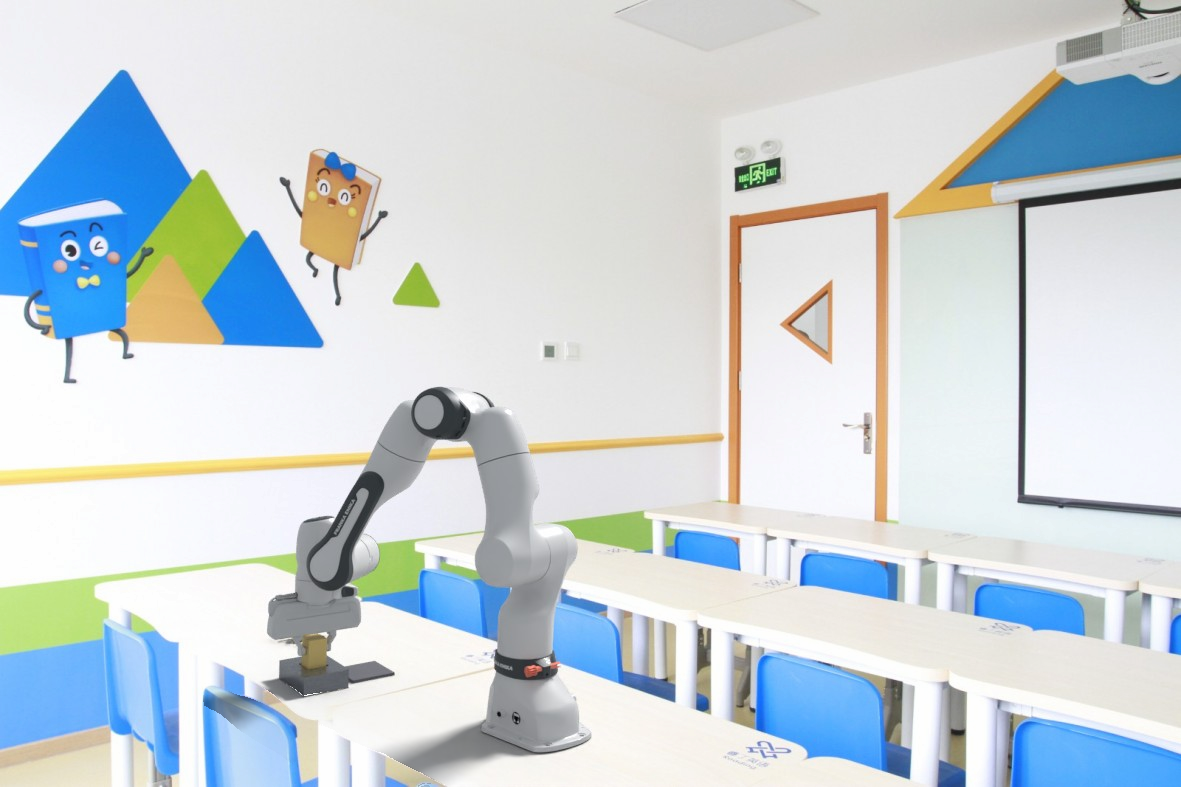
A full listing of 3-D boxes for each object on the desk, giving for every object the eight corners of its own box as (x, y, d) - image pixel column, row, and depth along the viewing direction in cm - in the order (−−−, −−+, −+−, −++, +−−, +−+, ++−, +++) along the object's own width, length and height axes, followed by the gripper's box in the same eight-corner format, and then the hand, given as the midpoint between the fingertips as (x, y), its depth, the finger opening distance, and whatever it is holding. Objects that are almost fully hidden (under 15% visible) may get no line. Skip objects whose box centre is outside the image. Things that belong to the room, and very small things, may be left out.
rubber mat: (394, 675, 204) (394, 672, 204) (353, 683, 198) (353, 680, 198) (374, 663, 212) (374, 660, 212) (334, 670, 206) (334, 668, 206)
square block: (325, 683, 197) (327, 638, 197) (308, 687, 195) (309, 641, 195) (318, 678, 200) (319, 634, 200) (300, 682, 198) (302, 636, 198)
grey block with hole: (348, 687, 195) (349, 669, 195) (303, 696, 189) (304, 677, 189) (322, 670, 206) (322, 652, 206) (278, 678, 200) (279, 660, 200)
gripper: (274, 599, 188) (272, 665, 188) (365, 587, 201) (363, 649, 201) (263, 593, 193) (261, 657, 193) (353, 581, 206) (351, 642, 206)
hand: (314, 653), depth 197 cm, fingers closed on square block, 4 cm apart
